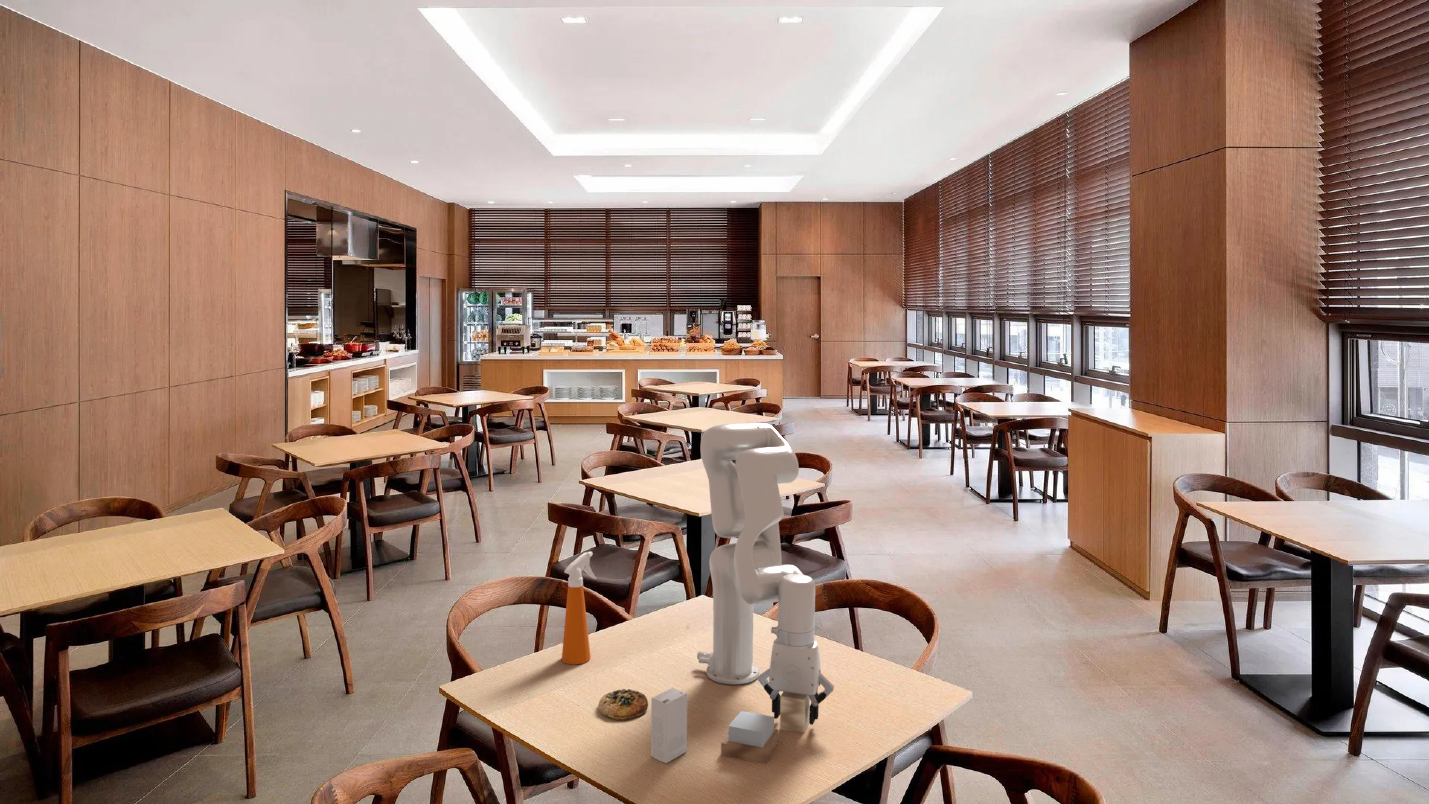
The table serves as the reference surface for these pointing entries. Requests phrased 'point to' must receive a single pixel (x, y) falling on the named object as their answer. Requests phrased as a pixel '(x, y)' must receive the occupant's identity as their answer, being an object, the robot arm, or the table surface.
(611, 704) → the bread roll
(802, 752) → the table surface
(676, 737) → the skincare box
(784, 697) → the beech block
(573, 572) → the spray bottle
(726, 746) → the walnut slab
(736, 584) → the robot arm
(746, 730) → the grey slab
